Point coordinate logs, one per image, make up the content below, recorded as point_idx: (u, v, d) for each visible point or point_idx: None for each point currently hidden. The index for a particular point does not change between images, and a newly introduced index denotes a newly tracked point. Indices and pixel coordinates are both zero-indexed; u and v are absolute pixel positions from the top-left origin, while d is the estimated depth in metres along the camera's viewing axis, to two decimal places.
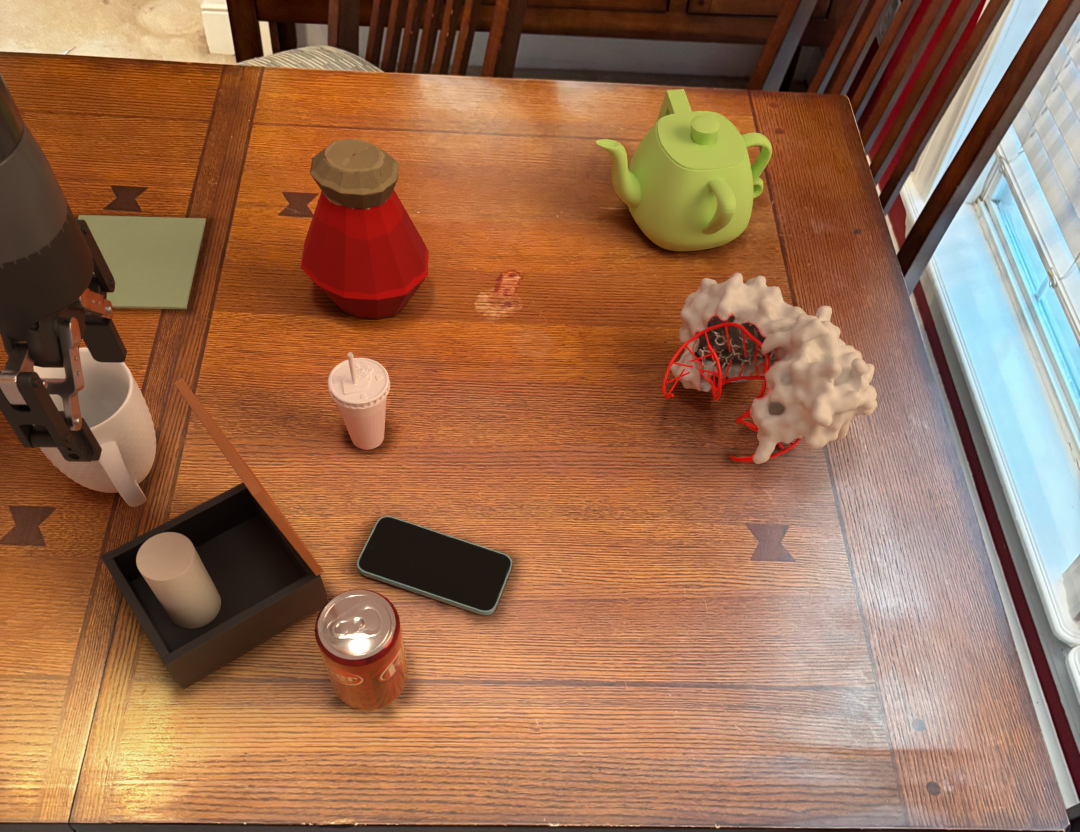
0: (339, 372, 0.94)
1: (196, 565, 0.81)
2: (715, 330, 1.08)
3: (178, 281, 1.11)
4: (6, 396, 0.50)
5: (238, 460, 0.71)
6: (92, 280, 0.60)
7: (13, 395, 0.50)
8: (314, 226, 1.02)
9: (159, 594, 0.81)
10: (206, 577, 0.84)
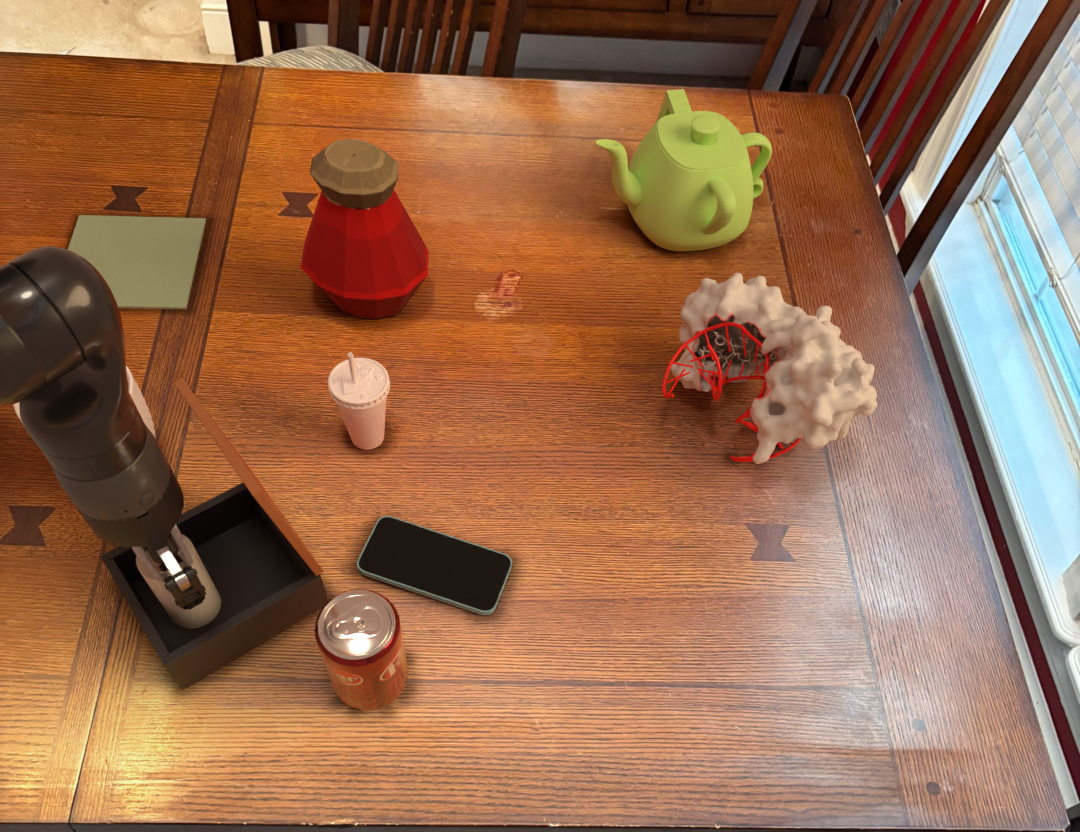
0: (339, 372, 0.94)
1: (196, 565, 0.81)
2: (715, 330, 1.08)
3: (178, 281, 1.11)
4: (181, 589, 0.74)
5: (238, 460, 0.71)
6: None
7: (185, 586, 0.74)
8: (314, 226, 1.02)
9: (159, 594, 0.81)
10: (206, 577, 0.84)
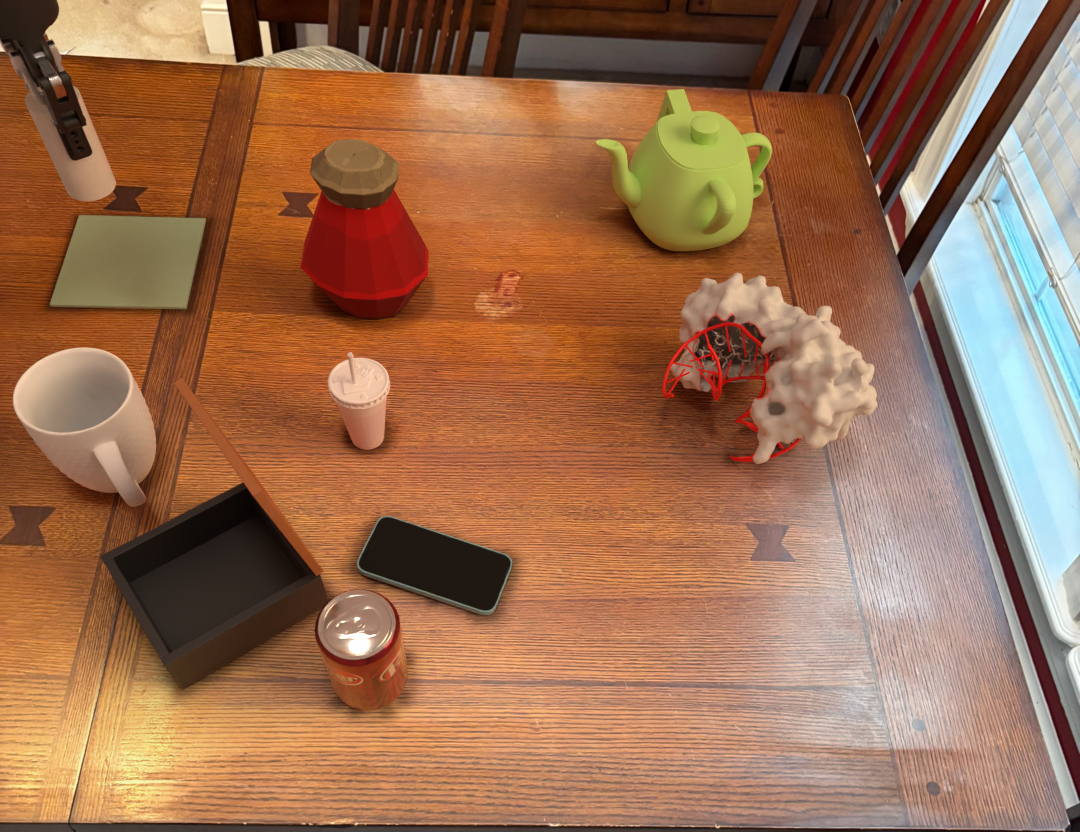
0: (339, 372, 0.94)
1: (82, 111, 0.87)
2: (715, 330, 1.08)
3: (178, 281, 1.11)
4: (55, 92, 0.80)
5: (238, 460, 0.71)
6: None
7: (59, 90, 0.80)
8: (314, 226, 1.02)
9: (48, 140, 0.87)
10: (96, 137, 0.90)
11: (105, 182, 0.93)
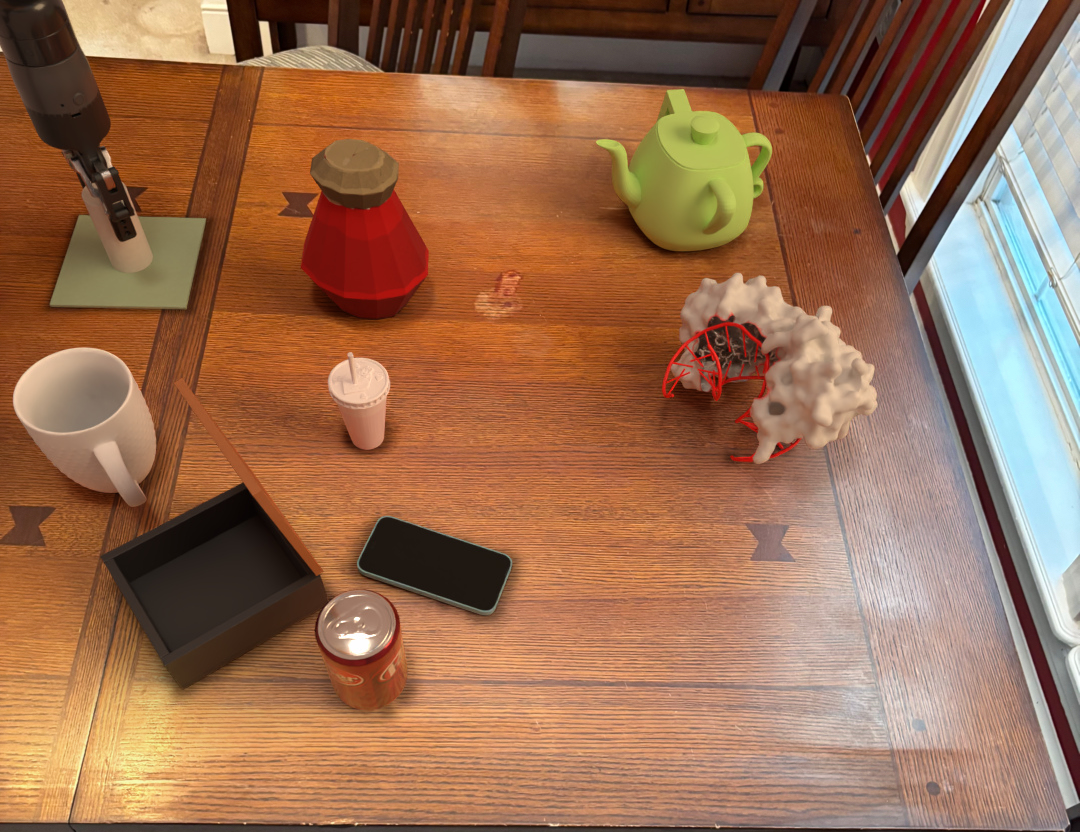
0: (339, 372, 0.94)
1: None
2: (715, 330, 1.08)
3: (178, 281, 1.11)
4: (106, 184, 0.96)
5: (238, 460, 0.71)
6: None
7: (109, 181, 0.96)
8: (314, 226, 1.02)
9: (100, 226, 1.05)
10: (138, 222, 1.08)
11: (145, 257, 1.11)
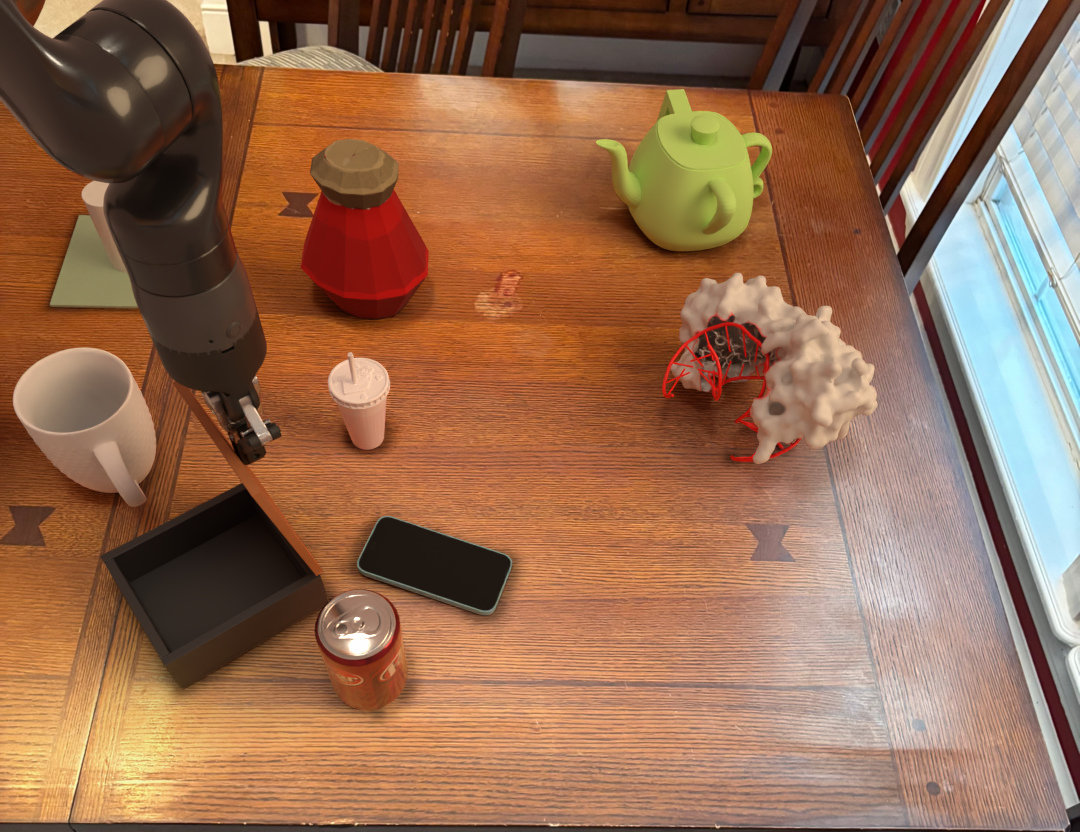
0: (339, 372, 0.94)
1: None
2: (715, 330, 1.08)
3: None
4: (261, 446, 0.68)
5: (237, 461, 0.71)
6: None
7: (266, 443, 0.69)
8: (314, 226, 1.02)
9: (100, 226, 1.05)
10: None
11: None
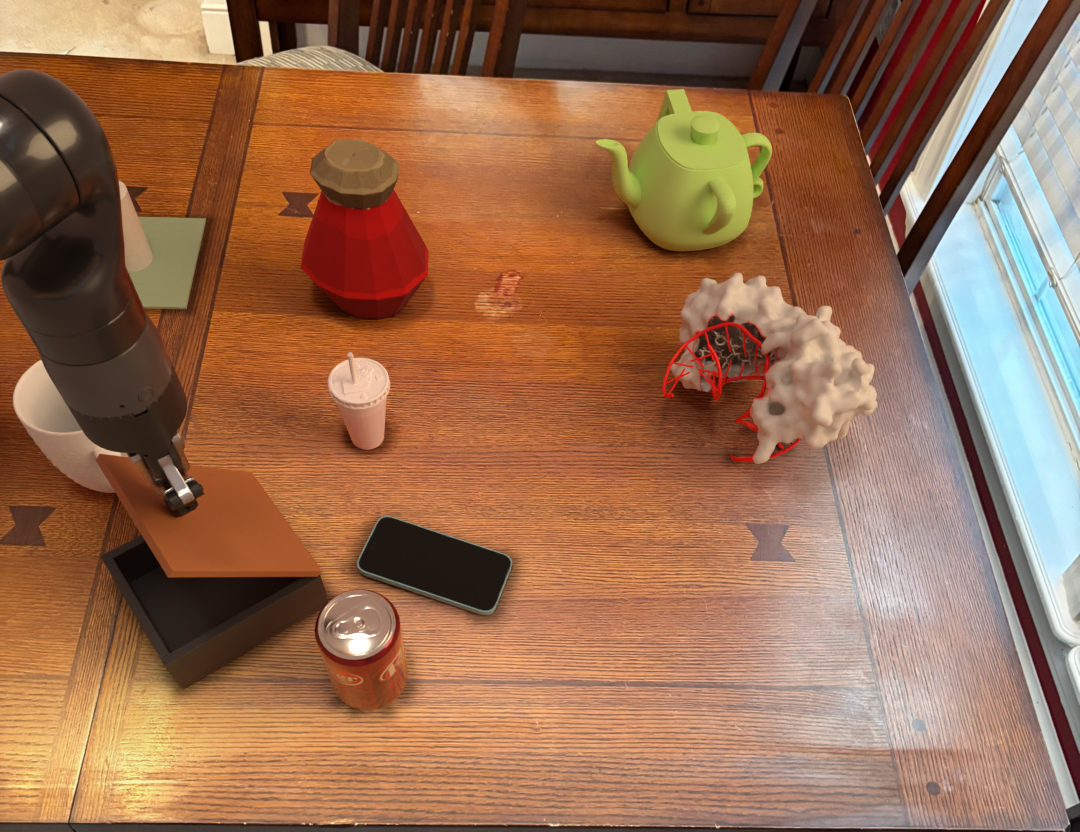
0: (339, 372, 0.94)
1: (128, 203, 1.05)
2: (715, 330, 1.08)
3: (178, 281, 1.11)
4: (184, 504, 0.68)
5: (152, 540, 0.72)
6: None
7: None
8: (314, 226, 1.02)
9: None
10: (138, 222, 1.08)
11: (145, 257, 1.11)
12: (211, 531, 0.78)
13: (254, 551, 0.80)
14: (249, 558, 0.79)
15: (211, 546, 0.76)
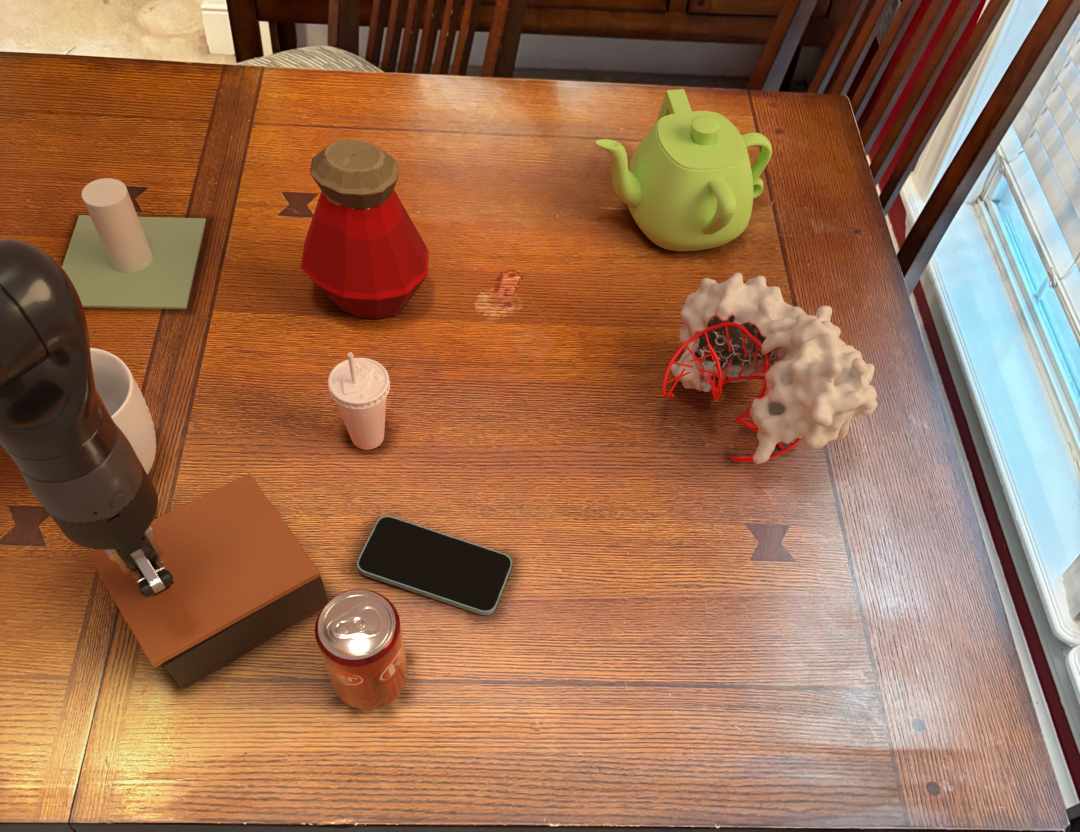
0: (339, 372, 0.94)
1: (128, 203, 1.05)
2: (715, 330, 1.08)
3: (178, 281, 1.11)
4: None
5: (134, 635, 0.80)
6: None
7: None
8: (314, 226, 1.02)
9: (100, 226, 1.05)
10: (138, 222, 1.08)
11: (145, 257, 1.11)
12: (195, 588, 0.83)
13: (241, 589, 0.83)
14: (234, 602, 0.82)
15: (193, 609, 0.82)
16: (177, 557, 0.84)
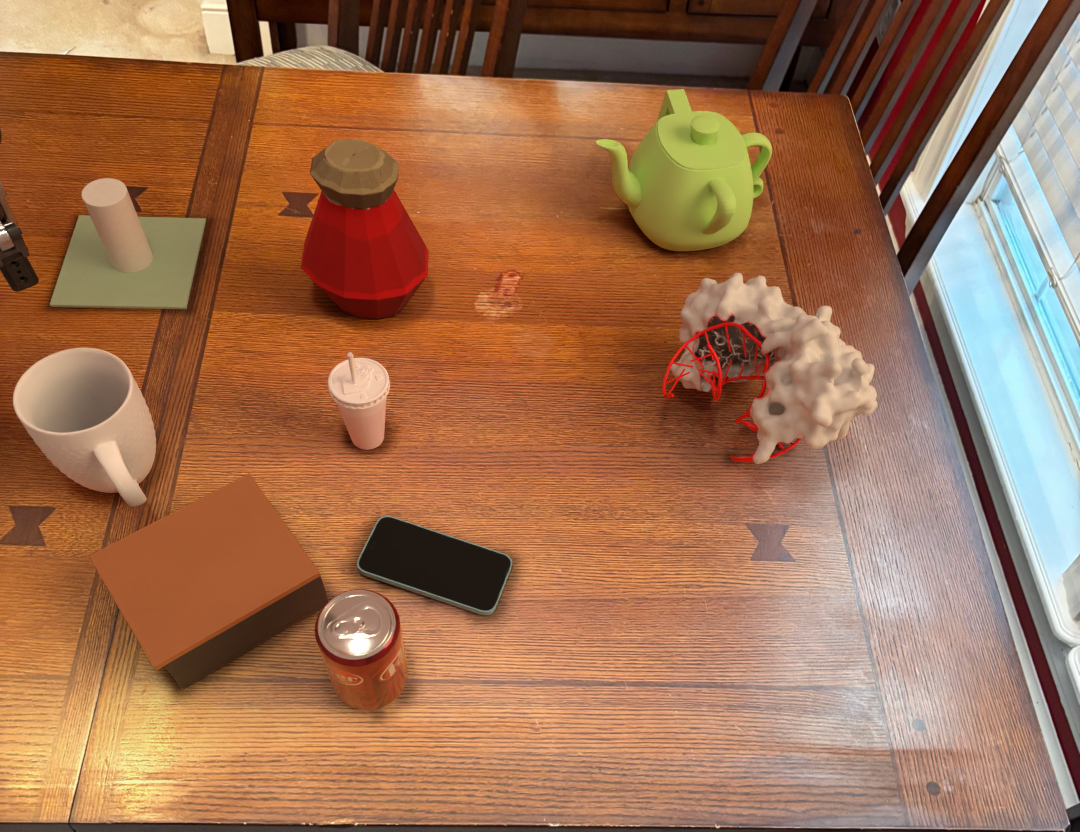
0: (339, 372, 0.94)
1: (128, 203, 1.05)
2: (715, 330, 1.08)
3: (178, 281, 1.11)
4: (2, 249, 0.65)
5: (136, 638, 0.80)
6: None
7: (7, 246, 0.65)
8: (314, 226, 1.02)
9: (100, 226, 1.05)
10: (138, 222, 1.08)
11: (145, 257, 1.11)
12: (196, 590, 0.83)
13: (241, 590, 0.83)
14: (235, 603, 0.83)
15: (194, 611, 0.82)
16: (178, 559, 0.84)
